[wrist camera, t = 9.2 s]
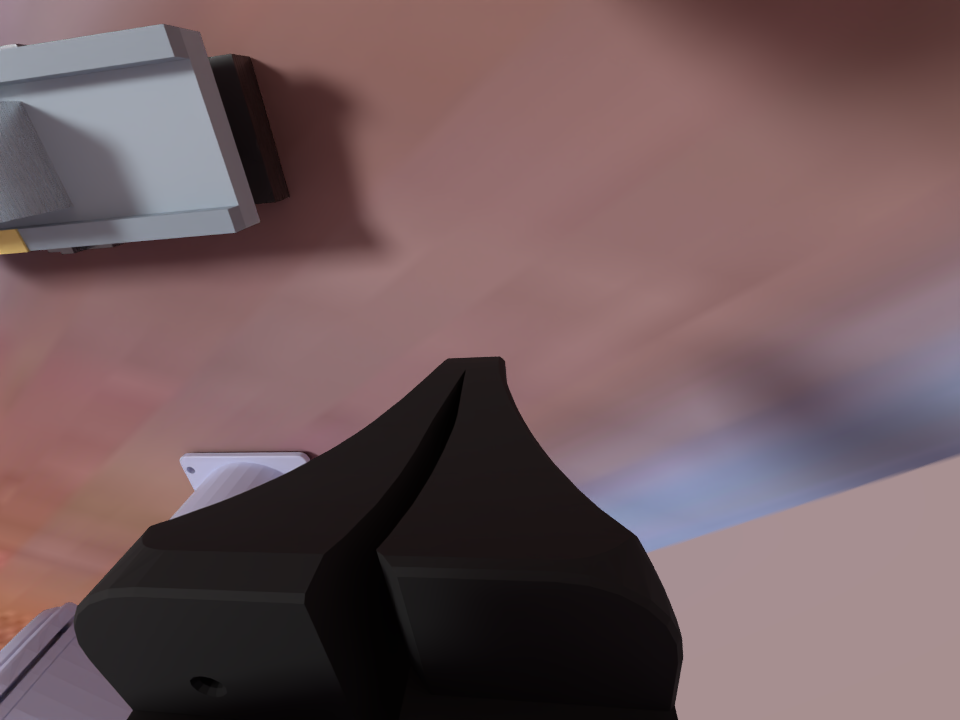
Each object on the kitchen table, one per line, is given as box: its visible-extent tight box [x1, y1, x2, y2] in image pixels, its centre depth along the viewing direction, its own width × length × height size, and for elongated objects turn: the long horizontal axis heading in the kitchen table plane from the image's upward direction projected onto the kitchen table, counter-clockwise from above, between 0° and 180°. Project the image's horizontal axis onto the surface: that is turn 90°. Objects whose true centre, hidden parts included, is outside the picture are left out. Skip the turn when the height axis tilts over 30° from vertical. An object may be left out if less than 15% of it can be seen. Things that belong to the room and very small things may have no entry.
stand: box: [0, 44, 290, 254], centre depth 19 cm, size 7×18×2 cm, turn 96°
